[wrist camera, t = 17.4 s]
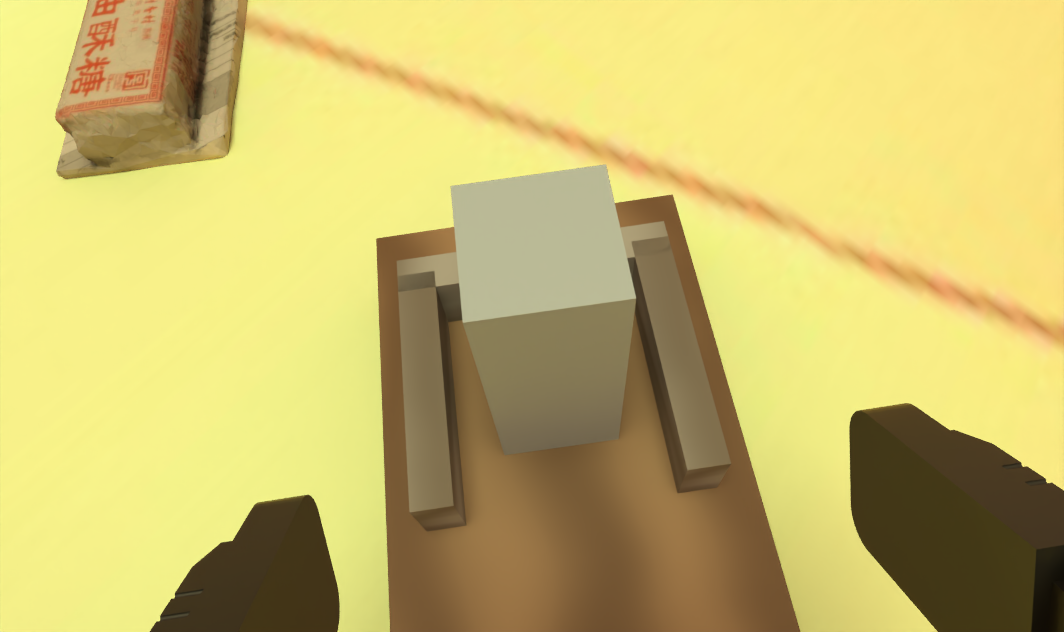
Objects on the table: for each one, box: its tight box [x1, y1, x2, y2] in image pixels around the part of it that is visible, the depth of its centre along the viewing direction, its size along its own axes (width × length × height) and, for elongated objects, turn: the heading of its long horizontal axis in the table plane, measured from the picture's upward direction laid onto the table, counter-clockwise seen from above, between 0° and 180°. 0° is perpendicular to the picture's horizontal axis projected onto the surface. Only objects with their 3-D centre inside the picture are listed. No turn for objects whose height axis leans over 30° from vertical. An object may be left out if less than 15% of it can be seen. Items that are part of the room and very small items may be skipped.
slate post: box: [451, 165, 636, 455], centre depth 24 cm, size 4×4×11 cm
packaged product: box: [55, 0, 247, 179], centre depth 45 cm, size 18×5×10 cm
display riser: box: [376, 195, 800, 632], centre depth 29 cm, size 14×22×7 cm, turn 8°
